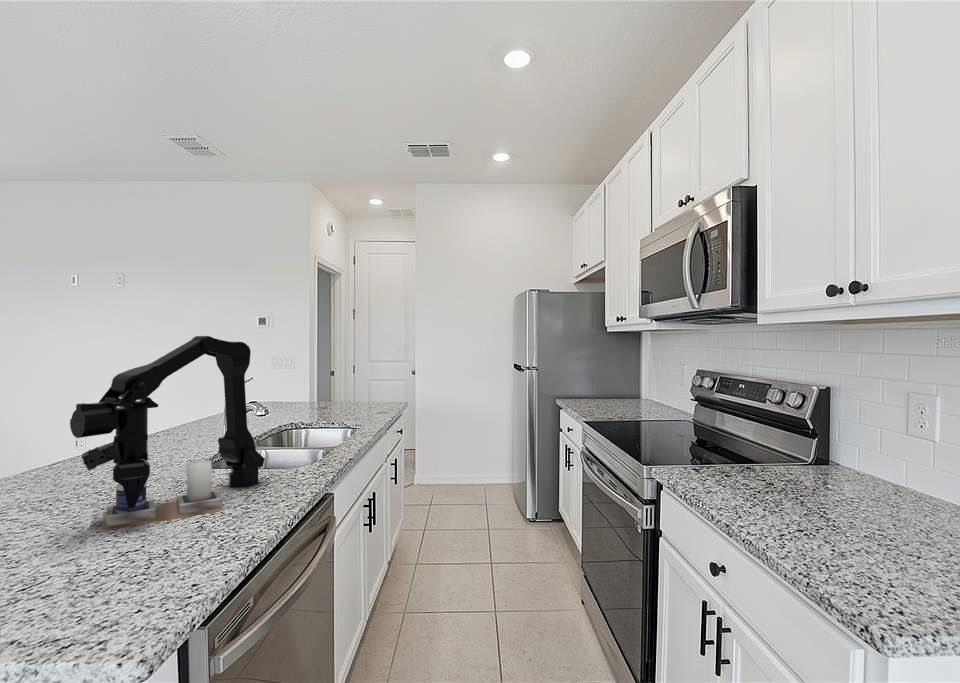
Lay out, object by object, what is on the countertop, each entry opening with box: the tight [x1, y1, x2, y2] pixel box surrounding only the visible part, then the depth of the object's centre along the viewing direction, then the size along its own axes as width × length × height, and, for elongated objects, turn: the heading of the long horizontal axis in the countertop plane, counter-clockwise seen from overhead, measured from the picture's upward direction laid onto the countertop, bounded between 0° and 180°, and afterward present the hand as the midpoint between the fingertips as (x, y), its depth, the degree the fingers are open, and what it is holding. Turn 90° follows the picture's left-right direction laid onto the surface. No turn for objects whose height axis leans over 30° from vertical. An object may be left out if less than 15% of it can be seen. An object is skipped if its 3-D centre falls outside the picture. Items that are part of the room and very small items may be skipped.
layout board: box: [100, 489, 223, 532], centre depth 113 cm, size 22×13×4 cm, turn 125°
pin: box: [186, 459, 213, 503], centre depth 117 cm, size 5×5×10 cm
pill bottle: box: [115, 483, 147, 514], centre depth 109 cm, size 5×5×10 cm
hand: (131, 501), depth 109 cm, fingers open, 9 cm apart
